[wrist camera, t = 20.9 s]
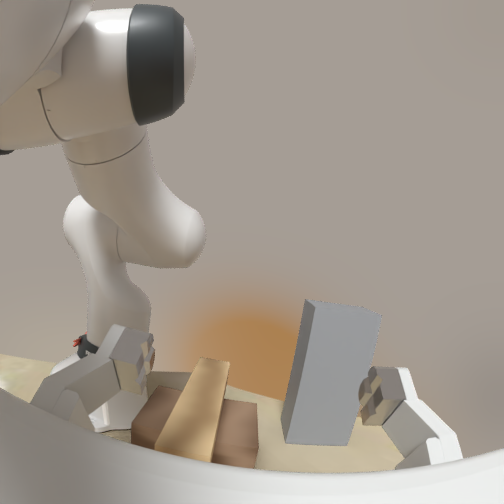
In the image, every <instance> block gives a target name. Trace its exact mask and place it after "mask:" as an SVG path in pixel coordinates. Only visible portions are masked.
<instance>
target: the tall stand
mask: <svg viewBox="0 0 504 504" xmlns="http://www.w3.org/2000/svg"><path fill="white" fill-rule="evenodd" d="M381 318H382V315H380V314H378V313H375V312H373V311H370V310H368V309H366V308H364V307H357V306H350V305H342V304H335V303H328V302H321V301H314V300H306V299H305V303H304V309H303V314H302V320H301V325H300V330H299V336H298V341H297V346H296V351H295V356H294V361H293V366H292V370H291V375H290V380H289V384H288V389H287V393H286V398H285V402H284V407H283V411H282V415H281V423H282V428H283V433H284V439H285V443H289V444H305V445H333V446H347V444H348V441H349V438H350V435H351V432H352V429H353V426H354V423H355V420H356V417H357V413H358V410H359V407H360V402H359V398H358V391H359V387H360V384H361V383H362V381H363V379H365V378H367V377H368V371H369V369H370V367H371V363H372V359H373V355H374V350H375V346H376V341H377V337H378V332H379V328H380V322H381Z"/></svg>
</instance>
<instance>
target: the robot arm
mask: <svg viewBox="0 0 504 504" xmlns="http://www.w3.org/2000/svg"><path fill="white" fill-rule="evenodd" d="M94 1H95V0H0V155H5V154H9V153H11V152H13V151H14V150H18V149H27V148H35V147H42V146H48V145H54V144H59V143H61V144H62V147H63V150H64V153H65V156H66V159H67V162H68V164H69V167H70V170H71V172H72V175H73V178H74V180H75V183H76V185H77V188H78V191H79V193H80V195H79V196H77V197H75V198H74V199H73V200H72V201H71V202H70V204H69V205H68V207H67V209H66V211H65V214H64V219H63V230H64V235H65V238H66V240H67V242H68V244H69V245H70V246H71V247H72V249H73V250H74V252H75V253H76V255H77V257H78V259H79V261H80V264H81V266H82V269H83V272H84V276H85V280H86V284H87V293H88V314H87V332H86V333H85V335H82V336H80V337H79V339H77V340H74V341H73V342H76V343H75V344H74V345H73V346H74V347H75V346H77V345H78V346H79V348H78V351H77V353H75V354H73V355H71V356H69V357H68V358H66V359H64V360H63V361H61V362H60V363H58V364H56V365H55V366H54V368H53V369H52V371H51V373H50V376H48V377H46V378H45V379H44V380H43V382H42V383H41V385H40V387H39V389H38V390H37V392H36V394H35V395H34V397H33V399H32V401H31V402H30V403H28V402H26V401H24V400H22V399H20V398H18V397H16V396H14V395H12V394H10V393H9V392H7V391H5V390H3V389H2V388H0V504H504V448H502V449H498V450H495V451H491V452H488V453H484V454H480V455H476V456H473V457H468V458H464V459H463V457H462V453H461V449H460V446H459V442H458V439H457V436H456V433H455V432H453V431H452V430H451V429H450V428H449V427H448V426H447V425H446V424H445V423H444V422H443V421H442V420H441V419H440V418H439V417H438V416H437V415H436V414H435V413H434V412H433V411H432V410H431V409H430V408H429V407H428V406H427V405H426V404H425V403H424V402H423V401H422V400H418V397H417V394H416V391H415V388H414V385H413V382H412V378H411V375H410V373H409V370H408V369H407V368H395V367H376V366H373V367H371V368H370V369H369V371H368V377H367V378H365V379H363V381H362V383H361V384H360V387H359V391H358V398H359V402H360V404H361V405H362V406H363V409H362V410H361V417H362V423H363V425H372V426H382V428H383V429H384V431H385V432H386V433H387V435H388V436H389V438H390V439H391V440H392V442H393V443H394V444H395V446H396V447H397V448H398V450H399V451H400V453H401V454H402V455H403V457H404V458H405V459H404V460H402V461H401V462H400V463H399V464H398V465H397V466H396V467H395V470H386V471H373V472H354V473H304V472H285V471H272V470H261V469H252V468H243V467H236V466H229V465H222V464H216V463H210V462H205V461H200V460H194V459H190V458H185V457H180V456H176V455H172V454H167V453H163V452H159V451H155V450H152V449H148V448H144V447H141V446H137V445H134V444H131V443H127V442H124V441H121V440H118V439H115V438H112V437H109V436H106V435H103V434H100V433H97V432H105V431H109V430H114V429H131V422H132V421H133V420H134V418H135V417H136V416H137V414H138V413H139V412H140V410H141V409H142V407H143V406H144V405H145V403H146V402H147V401H148V396H147V386H146V383H147V378H146V376H147V374H149V373H150V372H151V370H152V367H153V363H154V356H155V352H154V351H155V350H154V348H153V347H152V343H153V341H154V339H153V334H151V333H149V325H150V316H151V304H150V301H149V299H148V297H147V295H146V294H145V293H144V292H143V291H142V290H141V289H140V288H139V287H137V286H136V285H135V284H134V283H133V282H132V281H131V280H130V278H129V276H128V274H127V271H126V262H128V263H134V264H140V265H144V266H150V267H155V268H187V267H189V266H191V265H192V264H193V263H194V262H195V261H196V260H197V259H198V258H199V256H200V255H201V253H202V251H203V249H204V246H205V241H206V229H205V225H204V222H203V219H202V217H201V216H200V214H199V213H198V211H197V210H195V209H193V208H191V207H190V206H188V205H186V204H185V203H183V202H182V201H181V200H180V199H178V198H177V197H176V196H175V195H174V194H173V193H172V192H171V191H170V190H169V189H168V188H167V187H166V185H165V184H164V183H163V181H162V180H161V179H160V177H159V175H158V174H157V172H156V170H155V167H154V164H153V160H152V156H151V151H150V145H149V140H148V133H147V125H146V124H149V123H152V122H156V121H159V120H161V119H164V118H167V117H169V116H171V115H173V114H174V113H175V111H176V110H177V109H178V108H179V107H180V106H181V105H182V104H183V103H184V96H185V95H186V93H187V91H188V89H189V87H190V85H191V82H192V79H193V76H194V71H195V62H196V61H195V60H196V56H195V48H194V43H193V40H192V37H191V34H190V32H189V30H188V29H187V27H186V25H185V24H184V18H183V17H182V16H181V15H180V14H179V13H178V12H177V11H175V9H173V8H171V7H167V6H160V5H148V4H146V5H145V4H144V5H143V4H139V5H138V4H136V5H135V6H134V8H131V9H109V10H99V11H92V12H90V10H91V7H92V6H93V4H94Z"/></svg>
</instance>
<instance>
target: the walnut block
mask: <svg viewBox="0 0 504 504" xmlns="http://www.w3.org/2000/svg"><path fill="white" fill-rule="evenodd" d="M181 393H182V391H181V390H176V389H172V388H167V387H163V386H158V387H157V388H156V390H155V391H154V392H153V394H152V395H151V397H150V398H149V399H148V401H147V402H146V403H145V405H144V406H143V407H142V409H141V410H140V412H139V413H138V414H137V416H136V417H135V418H134V420H133V421H132V422H131V444H134V445H137V446H141V447H144V448H148V449H152V450H154V449H155V443H156V441H157V439H158V437H159V435H160V433H161V432H162V430H163V428H164V426H165V424H166V422H167V420H168V418H169V416H170V414H171V412H172V411H173V409H174V407H175V405H176V403H177V401H178V399H179V397H180V395H181ZM258 449H259V446H258V421H257V404H256V403H249V402H242V401H235V400H229V399H224V400H223V405H222V410H221V415H220V420H219V425H218V430H217V435H216V440H215V445H214V450H213V455H212V460H211V463H216V464H222V465H229V466H236V467H243V468H252V469H254V466H255V461H256V457H257V453H258Z"/></svg>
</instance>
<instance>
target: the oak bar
mask: <svg viewBox="0 0 504 504" xmlns="http://www.w3.org/2000/svg"><path fill="white" fill-rule="evenodd" d="M229 367H230V362H225V361H219V360H214V359H208V358H203V357H200V359H199V361H198V363H197V365H196V367H195V368H194V371H193V372H192V374H191V376H190V378H189V380H188V382H187V384H186V386H185V388H184V390H183V391H182V393H181V395H180V397H179V399H178V401H177V403H176V405H175V407H174V409H173V411H172V412H171V414H170V416H169V418H168V420H167V422H166V424H165V426H164V428H163V430H162V432H161V433H160V435H159V437H158V439H157V441H156V443H155V449H154V450H155V451H159V452H163V453H167V454H172V455H176V456H180V457H185V458H190V459H194V460H200V461H205V462H210V463H211V460H212V455H213V450H214V445H215V440H216V435H217V430H218V425H219V420H220V415H221V410H222V405H223V400H224V395H225V390H226V385H227V379H228V372H229Z"/></svg>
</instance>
